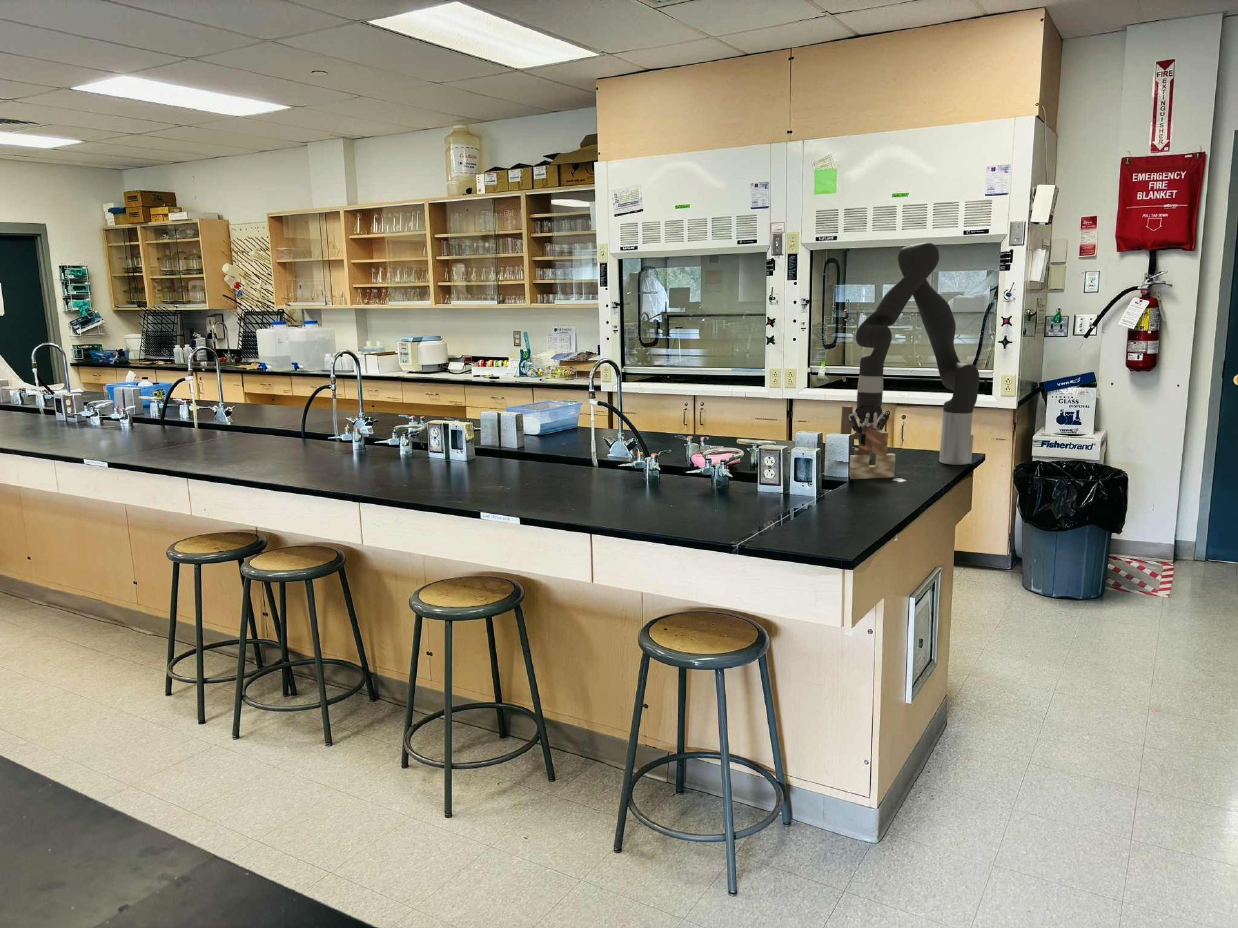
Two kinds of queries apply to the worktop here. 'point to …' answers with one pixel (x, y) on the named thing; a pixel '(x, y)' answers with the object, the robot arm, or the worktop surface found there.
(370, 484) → the worktop surface
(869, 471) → the maple plate
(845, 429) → the wooden block
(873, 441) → the cherry plate
